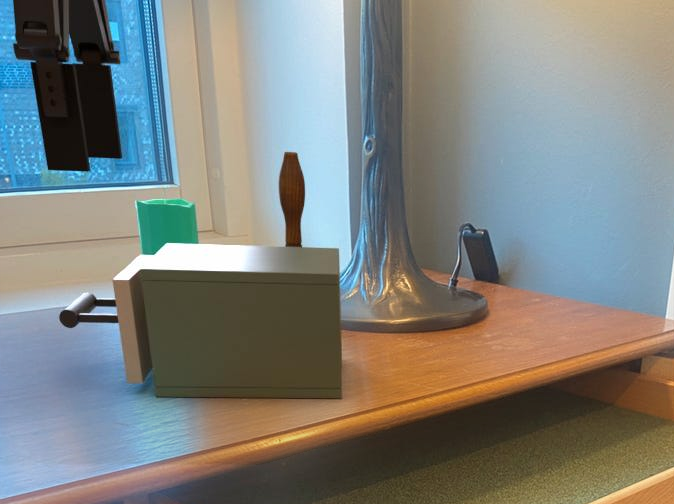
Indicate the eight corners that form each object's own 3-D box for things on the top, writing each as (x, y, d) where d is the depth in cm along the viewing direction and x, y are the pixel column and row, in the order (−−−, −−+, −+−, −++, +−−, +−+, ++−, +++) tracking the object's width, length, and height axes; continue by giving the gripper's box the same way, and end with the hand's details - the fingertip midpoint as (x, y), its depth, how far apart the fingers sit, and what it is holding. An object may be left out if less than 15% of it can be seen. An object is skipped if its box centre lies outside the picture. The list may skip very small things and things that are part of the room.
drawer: (61, 382, 75) (43, 277, 71) (94, 347, 85) (79, 253, 81) (300, 385, 77) (295, 283, 73) (305, 350, 87) (300, 259, 83)
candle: (161, 313, 101) (146, 188, 95) (138, 303, 105) (123, 182, 99) (214, 308, 104) (203, 187, 98) (190, 298, 108) (178, 181, 102)
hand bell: (310, 310, 106) (303, 148, 98) (351, 325, 100) (347, 155, 92) (241, 318, 101) (228, 148, 93) (281, 334, 96) (270, 155, 87)
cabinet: (155, 397, 76) (139, 269, 71) (179, 356, 86) (166, 243, 82) (342, 398, 78) (338, 273, 73) (342, 359, 88) (339, 248, 83)
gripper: (46, -265, 52) (107, 180, 63) (128, -171, 72) (163, 154, 83) (-101, -279, 51) (-13, 176, 62) (23, -180, 71) (72, 150, 82)
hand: (88, 163), depth 73 cm, fingers open, 11 cm apart
